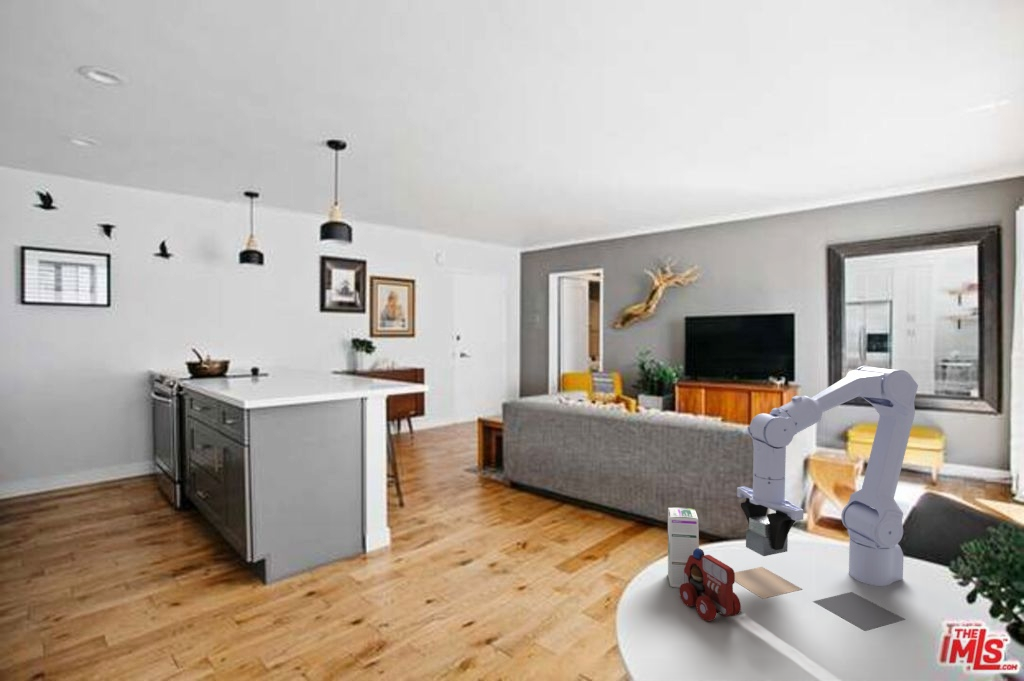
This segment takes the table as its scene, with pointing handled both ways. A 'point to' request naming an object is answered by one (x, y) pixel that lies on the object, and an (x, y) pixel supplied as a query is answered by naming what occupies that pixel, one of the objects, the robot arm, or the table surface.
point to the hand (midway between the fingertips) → (767, 543)
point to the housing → (761, 536)
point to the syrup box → (681, 542)
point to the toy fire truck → (709, 586)
